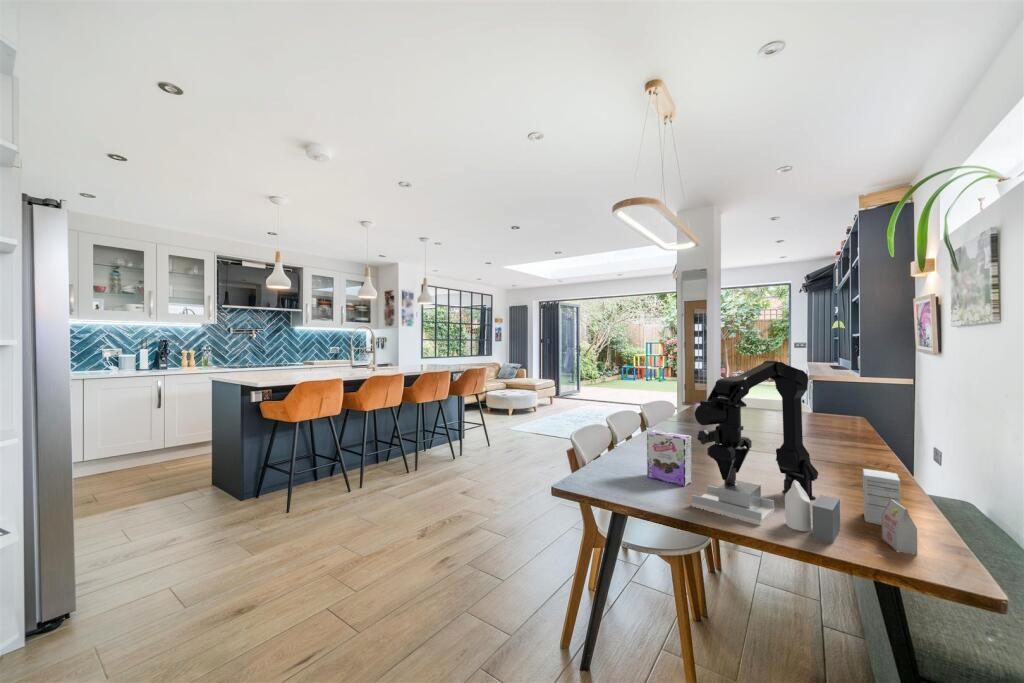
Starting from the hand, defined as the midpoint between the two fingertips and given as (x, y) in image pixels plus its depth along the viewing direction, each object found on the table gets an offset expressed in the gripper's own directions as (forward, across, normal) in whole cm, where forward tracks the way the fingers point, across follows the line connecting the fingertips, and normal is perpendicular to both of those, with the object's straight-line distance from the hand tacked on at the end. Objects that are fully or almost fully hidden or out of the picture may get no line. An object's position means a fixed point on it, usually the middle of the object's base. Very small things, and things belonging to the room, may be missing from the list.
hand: (730, 476), depth 120 cm
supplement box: (+10, -20, +31) cm, 38 cm away
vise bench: (+9, 0, +8) cm, 12 cm away
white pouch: (+10, 0, +16) cm, 19 cm away
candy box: (+10, -11, -24) cm, 28 cm away
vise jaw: (+8, 0, +2) cm, 8 cm away
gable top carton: (+10, -4, +36) cm, 37 cm away
